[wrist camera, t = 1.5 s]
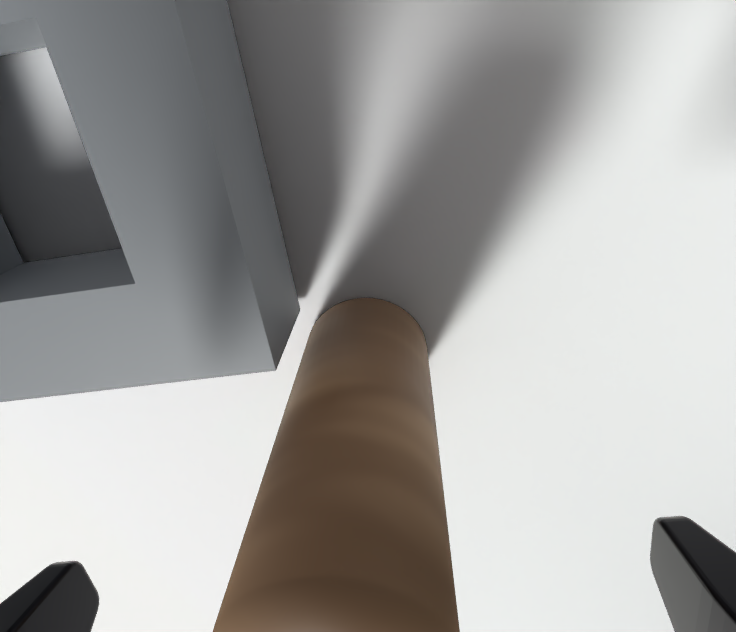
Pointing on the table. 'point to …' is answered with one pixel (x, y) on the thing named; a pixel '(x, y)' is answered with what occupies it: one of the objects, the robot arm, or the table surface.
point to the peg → (350, 491)
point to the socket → (150, 208)
